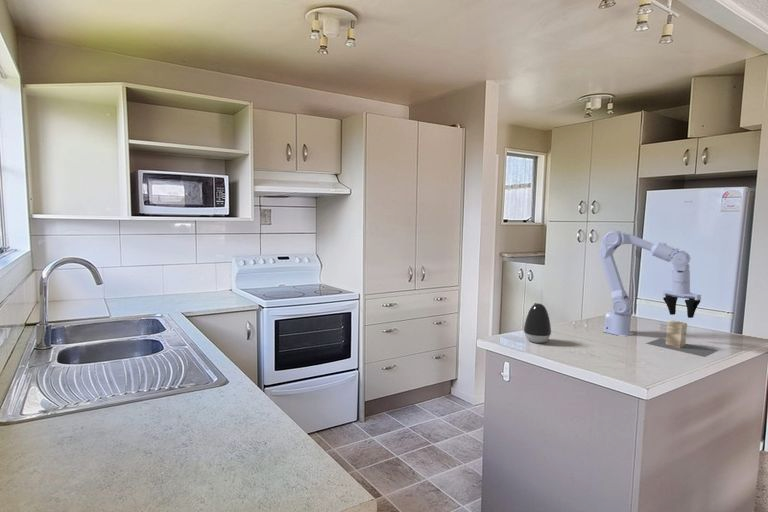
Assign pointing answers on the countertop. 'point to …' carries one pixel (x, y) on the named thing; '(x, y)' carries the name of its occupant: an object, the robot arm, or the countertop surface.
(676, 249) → the robot arm
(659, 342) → the mat
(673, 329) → the block
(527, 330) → the black egg shape
